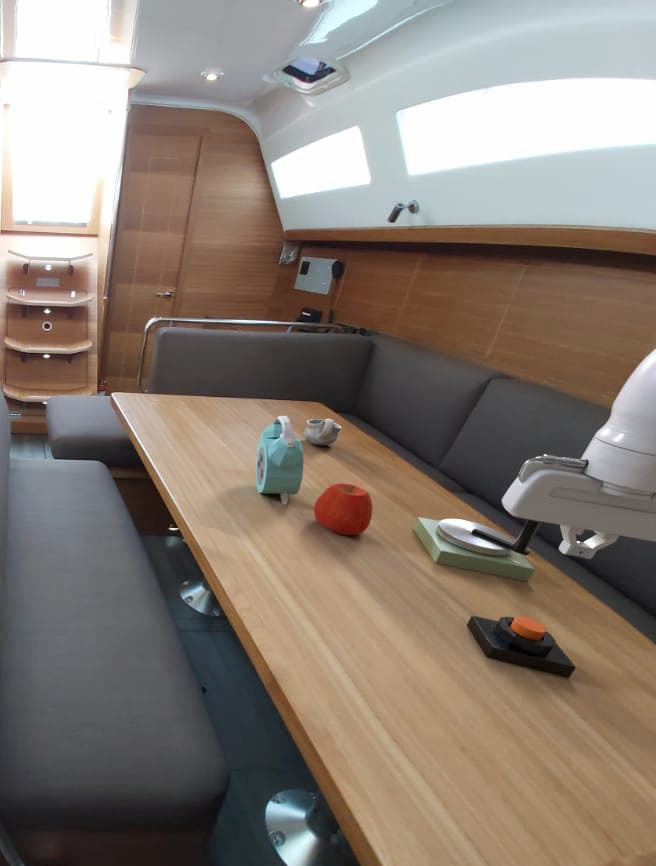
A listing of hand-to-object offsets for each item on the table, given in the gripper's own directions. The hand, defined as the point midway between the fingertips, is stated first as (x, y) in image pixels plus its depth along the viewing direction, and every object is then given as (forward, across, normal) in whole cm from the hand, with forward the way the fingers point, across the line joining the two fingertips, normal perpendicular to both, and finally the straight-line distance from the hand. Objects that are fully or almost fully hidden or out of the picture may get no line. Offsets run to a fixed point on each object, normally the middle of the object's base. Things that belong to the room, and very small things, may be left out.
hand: (573, 554), depth 71 cm
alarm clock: (+19, -33, +45) cm, 59 cm away
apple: (+18, -20, +32) cm, 42 cm away
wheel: (+15, +5, +31) cm, 35 cm away
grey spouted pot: (+18, -16, +90) cm, 93 cm away
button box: (+18, 0, 0) cm, 18 cm away
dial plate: (+18, +4, +32) cm, 37 cm away
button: (+15, 0, 0) cm, 15 cm away
